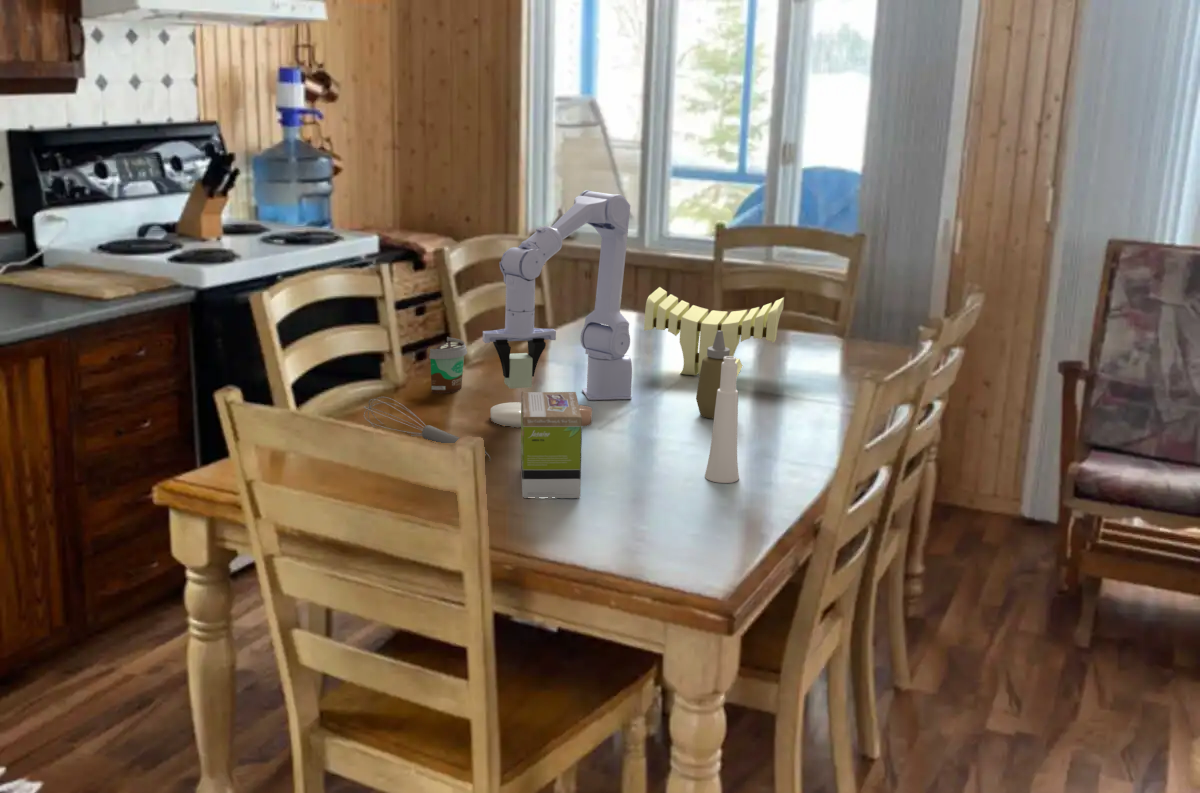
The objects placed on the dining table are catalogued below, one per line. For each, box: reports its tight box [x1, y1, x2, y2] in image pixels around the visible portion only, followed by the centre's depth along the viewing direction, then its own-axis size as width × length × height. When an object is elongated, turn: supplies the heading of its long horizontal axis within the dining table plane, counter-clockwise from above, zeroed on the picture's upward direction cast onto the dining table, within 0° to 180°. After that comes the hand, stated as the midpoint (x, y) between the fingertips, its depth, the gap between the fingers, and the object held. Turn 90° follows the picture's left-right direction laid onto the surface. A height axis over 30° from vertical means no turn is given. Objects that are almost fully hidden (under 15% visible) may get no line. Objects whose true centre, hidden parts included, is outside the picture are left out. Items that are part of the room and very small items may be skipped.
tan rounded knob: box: [579, 404, 593, 427], centre depth 243 cm, size 5×5×3 cm
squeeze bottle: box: [695, 331, 730, 420], centre depth 249 cm, size 8×8×18 cm
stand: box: [490, 401, 521, 428], centre depth 243 cm, size 11×11×2 cm
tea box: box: [520, 391, 583, 499], centre depth 206 cm, size 15×10×15 cm, turn 5°
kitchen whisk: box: [363, 396, 492, 462], centre depth 227 cm, size 6×34×6 cm, turn 50°
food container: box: [428, 336, 468, 394], centre depth 262 cm, size 12×6×10 cm, turn 168°
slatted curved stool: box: [643, 286, 785, 377], centre depth 284 cm, size 30×16×18 cm, turn 76°
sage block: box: [503, 352, 533, 389], centre depth 241 cm, size 4×4×6 cm
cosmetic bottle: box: [704, 356, 740, 484], centre depth 211 cm, size 6×6×22 cm
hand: (518, 376), depth 241 cm, fingers closed on sage block, 4 cm apart
